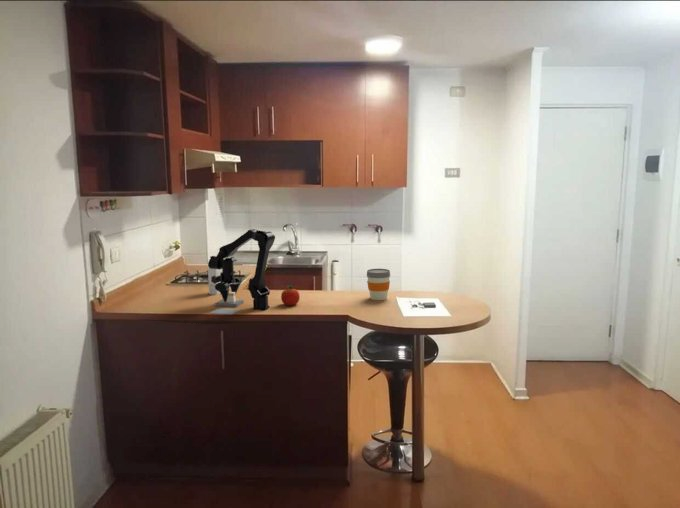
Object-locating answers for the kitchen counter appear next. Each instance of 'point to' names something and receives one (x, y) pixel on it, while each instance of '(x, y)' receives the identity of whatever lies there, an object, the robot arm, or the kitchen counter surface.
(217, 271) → the skincare box
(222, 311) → the mat
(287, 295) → the fruit
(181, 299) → the kitchen counter surface
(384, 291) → the reusable coffee cup
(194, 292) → the kitchen counter surface
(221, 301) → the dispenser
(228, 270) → the robot arm
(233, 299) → the tan banded white slab
